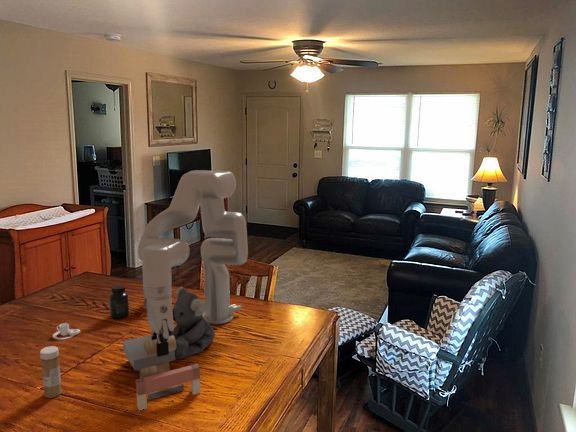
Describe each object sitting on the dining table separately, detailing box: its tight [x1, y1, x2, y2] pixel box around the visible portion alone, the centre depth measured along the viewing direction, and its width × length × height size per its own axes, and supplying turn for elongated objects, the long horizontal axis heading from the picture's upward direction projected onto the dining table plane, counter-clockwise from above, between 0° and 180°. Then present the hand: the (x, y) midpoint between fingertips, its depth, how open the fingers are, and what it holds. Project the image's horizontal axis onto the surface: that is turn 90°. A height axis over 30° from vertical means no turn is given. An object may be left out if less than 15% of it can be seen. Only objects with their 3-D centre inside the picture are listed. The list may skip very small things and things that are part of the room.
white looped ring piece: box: [52, 322, 81, 340], centre depth 171 cm, size 9×8×4 cm
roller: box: [144, 336, 176, 356], centre depth 135 cm, size 8×4×4 cm, turn 121°
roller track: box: [135, 361, 185, 401], centre depth 145 cm, size 10×25×4 cm, turn 31°
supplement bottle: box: [108, 284, 130, 321], centre depth 185 cm, size 7×7×12 cm
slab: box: [122, 334, 176, 371], centre depth 148 cm, size 12×14×3 cm
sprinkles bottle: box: [39, 345, 63, 399], centre depth 133 cm, size 5×5×13 cm
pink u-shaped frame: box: [135, 363, 201, 412], centre depth 132 cm, size 17×2×8 cm, turn 121°
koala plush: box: [168, 286, 216, 360], centre depth 162 cm, size 17×18×20 cm
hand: (160, 351), depth 136 cm, fingers closed on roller, 4 cm apart
